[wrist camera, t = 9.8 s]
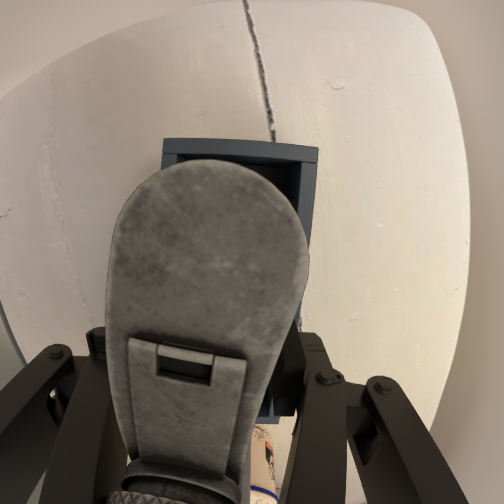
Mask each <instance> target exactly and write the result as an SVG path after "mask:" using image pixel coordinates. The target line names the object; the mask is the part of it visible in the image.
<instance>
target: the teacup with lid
mask: <svg viewBox="0 0 504 504" xmlns="http://www.w3.org/2000/svg"><path fill="white" fill-rule="evenodd" d="M250 504H278V497H277V496H276V494H275V475H274V457H273V443H272V440H271V438H270V437H269V435H268V434H266V433H265V432H264V431H262V430H261V429H259V428H256V427H254V429H253V432H252V436H251V478H250Z"/></svg>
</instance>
